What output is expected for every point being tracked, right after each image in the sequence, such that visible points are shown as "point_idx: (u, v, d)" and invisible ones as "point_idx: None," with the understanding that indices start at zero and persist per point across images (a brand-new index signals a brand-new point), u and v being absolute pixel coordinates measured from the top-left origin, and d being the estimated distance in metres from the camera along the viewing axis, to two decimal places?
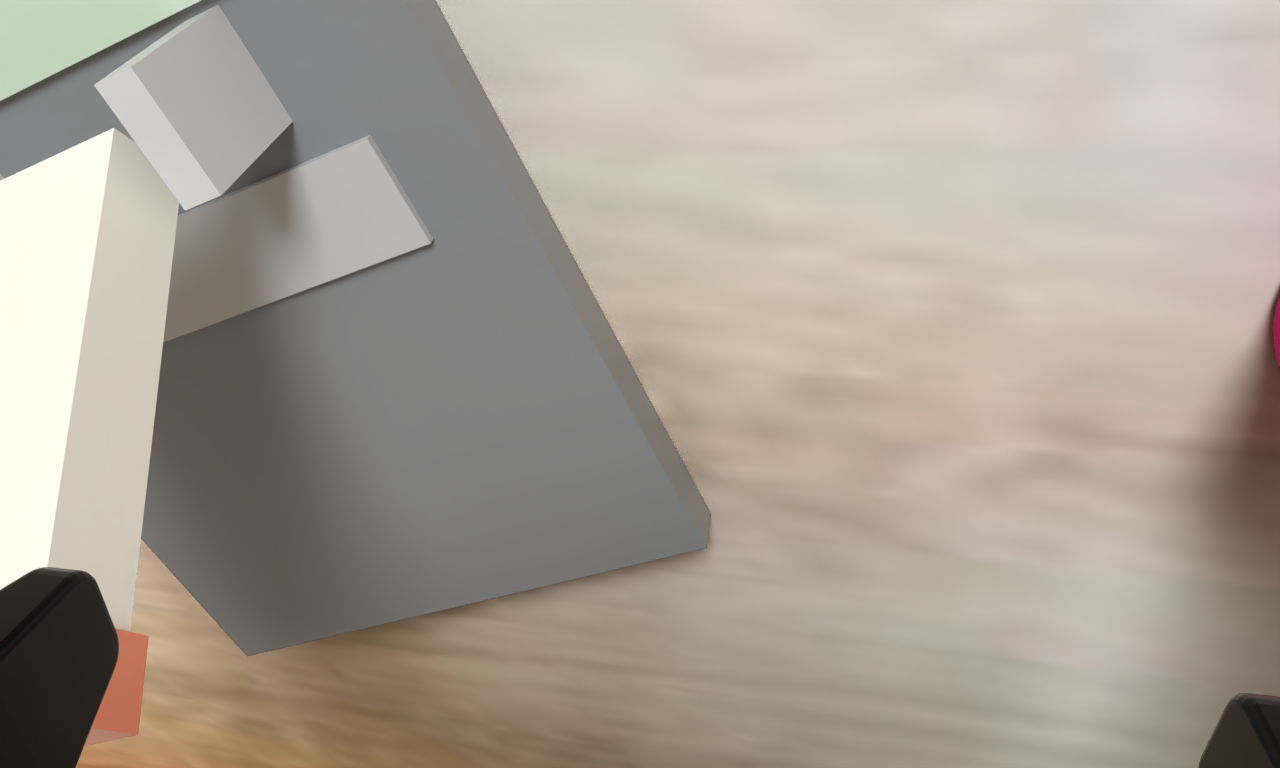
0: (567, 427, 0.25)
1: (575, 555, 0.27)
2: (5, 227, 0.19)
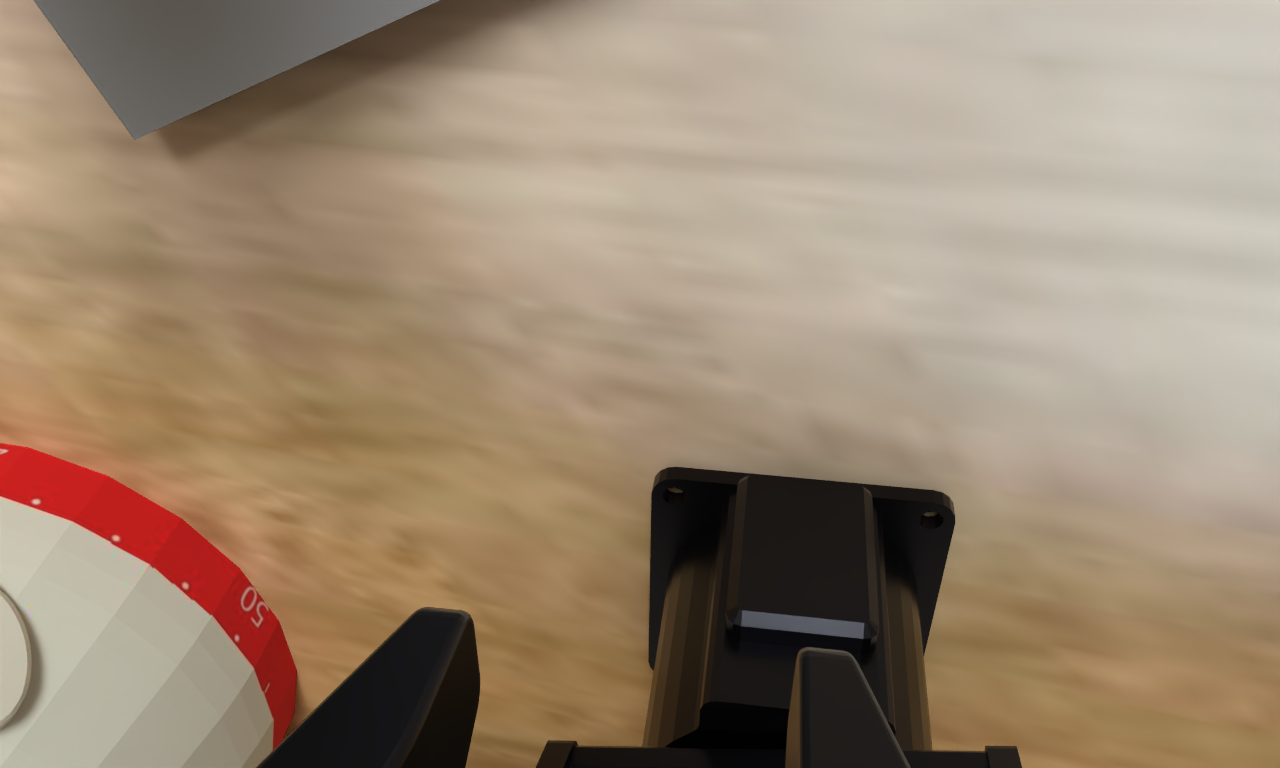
0: None
1: None
2: None
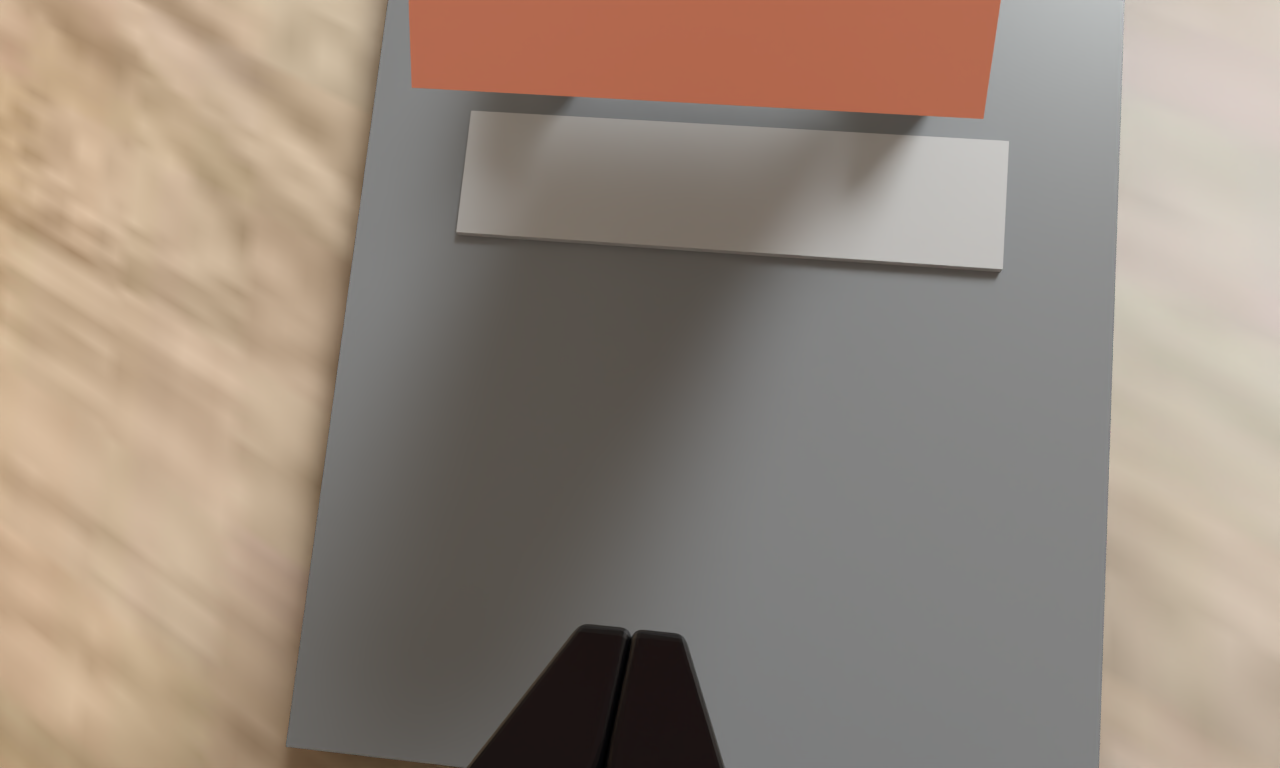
0: (1011, 567, 0.19)
1: None
2: None
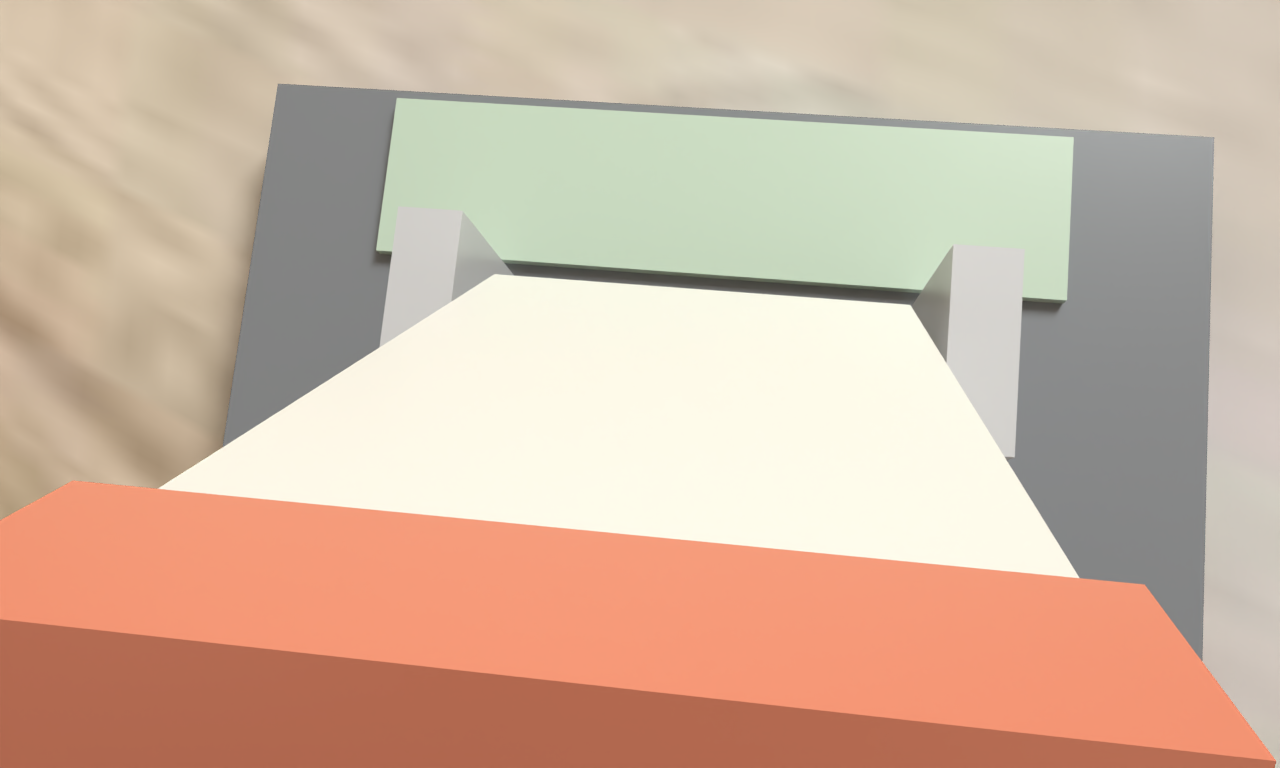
0: None
1: None
2: (707, 308, 0.12)
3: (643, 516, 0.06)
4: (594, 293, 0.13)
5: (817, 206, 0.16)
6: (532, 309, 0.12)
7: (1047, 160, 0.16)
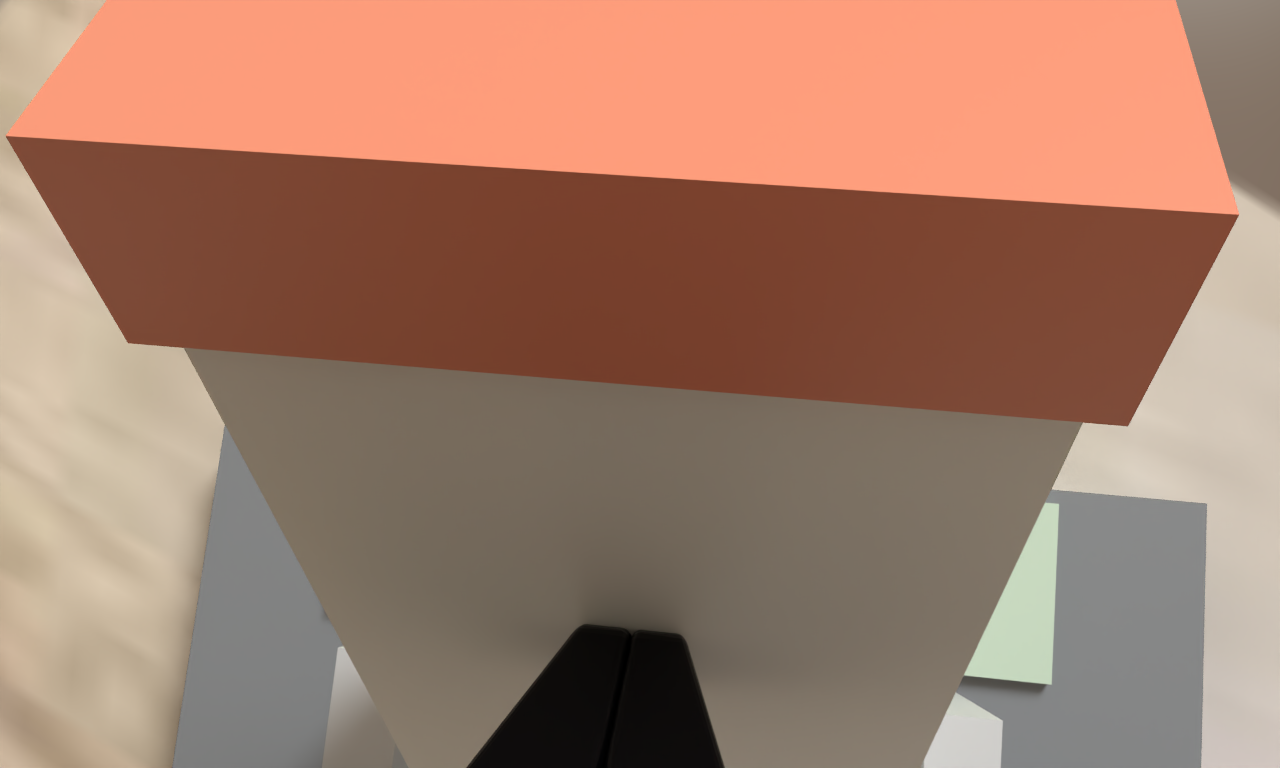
0: None
1: None
2: None
3: None
4: None
5: None
6: None
7: None
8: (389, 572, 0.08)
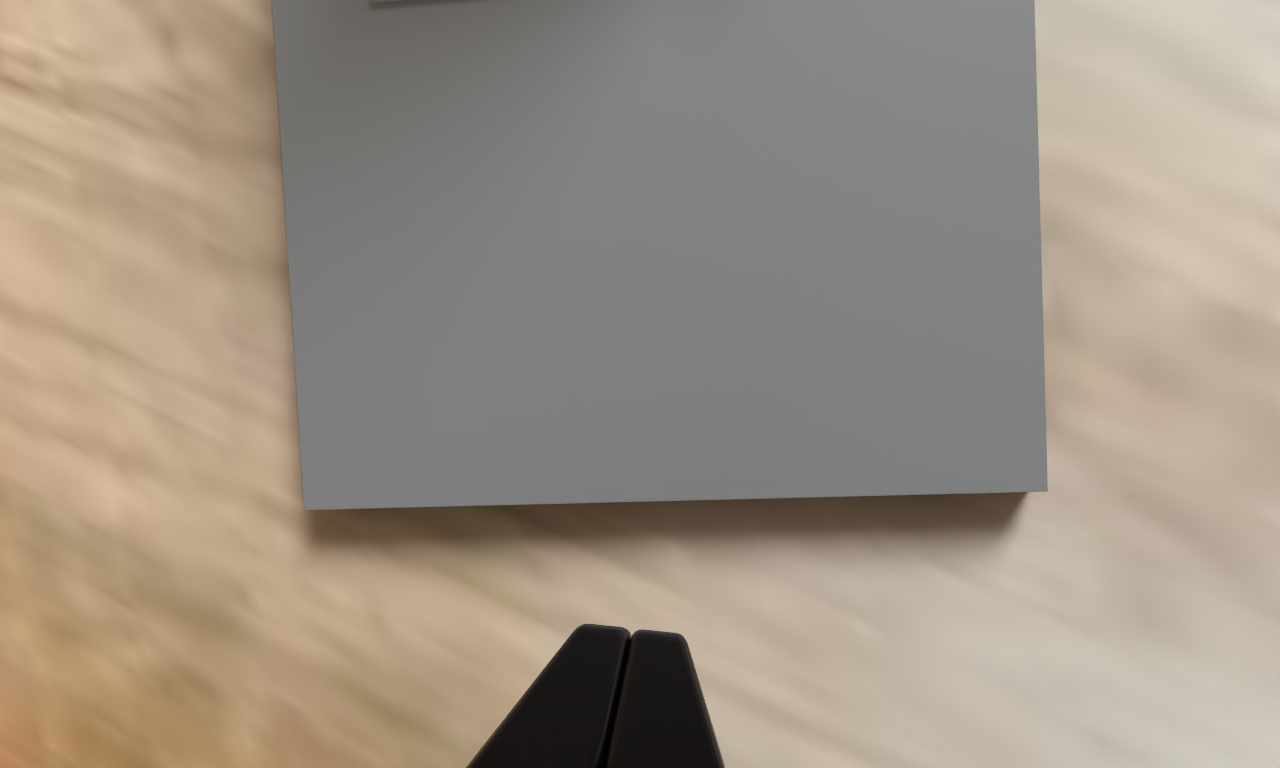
0: (949, 251, 0.20)
1: (864, 456, 0.20)
2: None
3: None
4: None
5: None
6: None
7: None
8: None
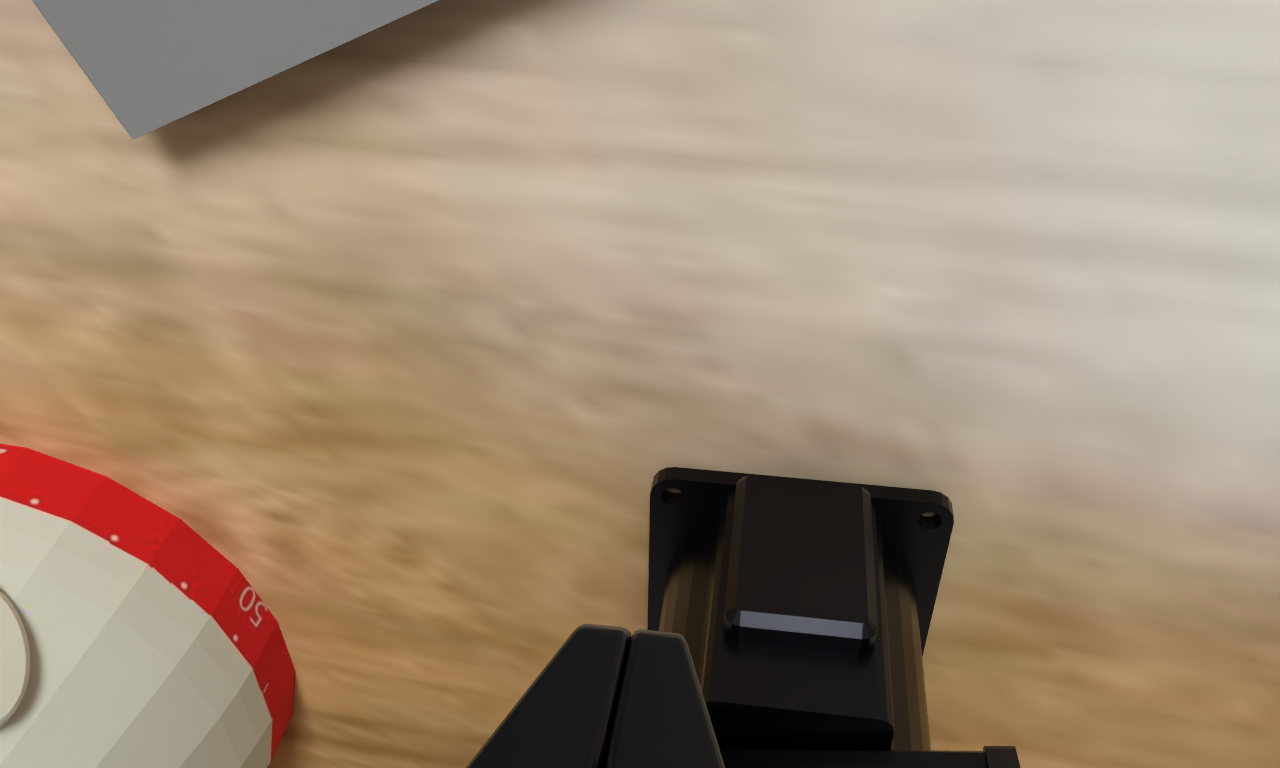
0: None
1: None
2: None
3: None
4: None
5: None
6: None
7: None
8: None
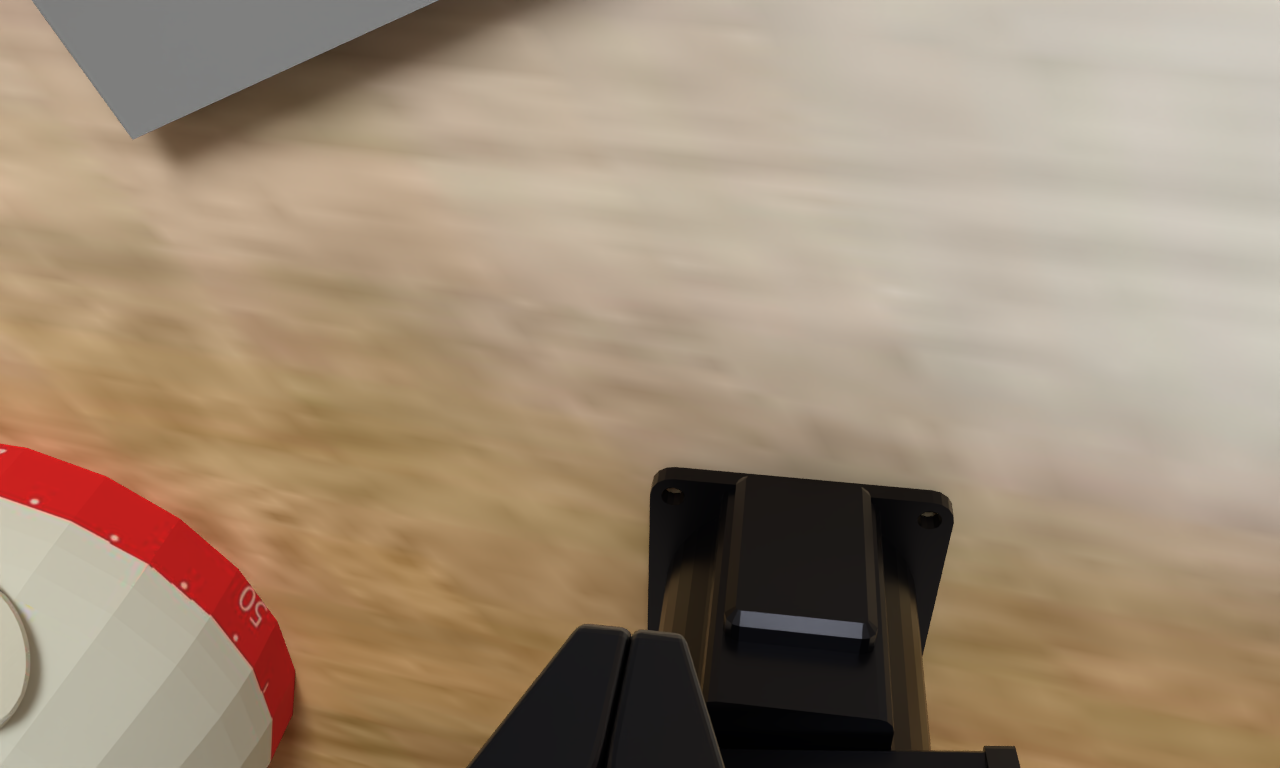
0: None
1: None
2: None
3: None
4: None
5: None
6: None
7: None
8: None
